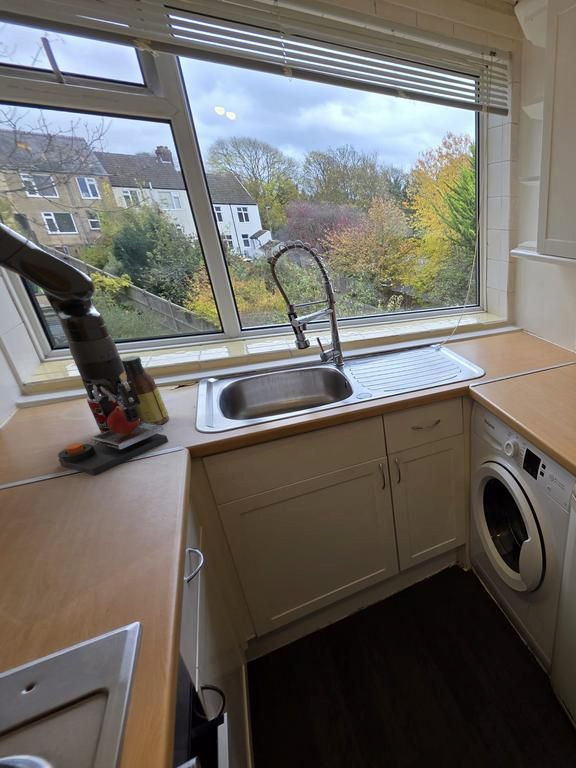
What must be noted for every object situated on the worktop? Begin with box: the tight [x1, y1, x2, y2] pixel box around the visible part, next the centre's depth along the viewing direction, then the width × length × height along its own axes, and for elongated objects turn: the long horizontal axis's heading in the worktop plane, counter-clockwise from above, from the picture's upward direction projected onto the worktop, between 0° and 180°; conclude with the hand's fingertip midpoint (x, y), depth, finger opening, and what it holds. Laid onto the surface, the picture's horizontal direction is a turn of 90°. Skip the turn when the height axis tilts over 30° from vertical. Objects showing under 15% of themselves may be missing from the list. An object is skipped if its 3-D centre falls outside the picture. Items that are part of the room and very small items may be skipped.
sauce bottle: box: [121, 355, 170, 425], centre depth 112 cm, size 7×6×20 cm
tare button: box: [64, 442, 84, 454], centre depth 96 cm, size 3×3×2 cm
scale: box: [57, 433, 169, 477], centre depth 100 cm, size 16×12×4 cm
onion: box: [107, 406, 139, 435], centre depth 100 cm, size 6×6×8 cm
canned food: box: [86, 395, 125, 434], centre depth 109 cm, size 8×8×11 cm
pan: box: [89, 420, 165, 450], centre depth 102 cm, size 10×10×1 cm
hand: (121, 418), depth 100 cm, fingers open, 8 cm apart
